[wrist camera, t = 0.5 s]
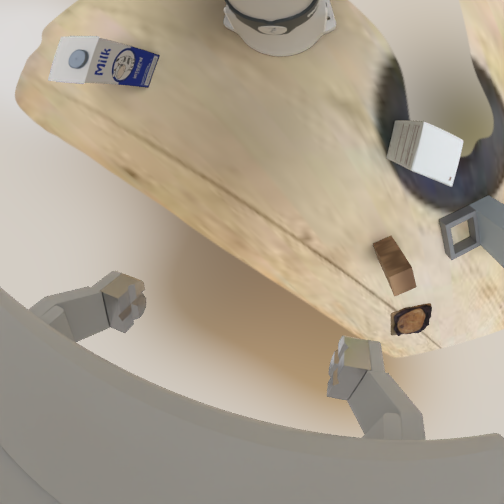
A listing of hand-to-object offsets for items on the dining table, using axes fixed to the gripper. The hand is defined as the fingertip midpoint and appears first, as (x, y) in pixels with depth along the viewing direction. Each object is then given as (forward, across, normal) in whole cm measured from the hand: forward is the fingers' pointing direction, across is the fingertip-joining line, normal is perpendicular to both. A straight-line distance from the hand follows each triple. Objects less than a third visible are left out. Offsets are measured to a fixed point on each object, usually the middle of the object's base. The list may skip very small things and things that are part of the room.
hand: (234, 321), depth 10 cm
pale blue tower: (+43, -35, +1) cm, 56 cm away
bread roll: (+44, -31, +26) cm, 60 cm away
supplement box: (+41, -17, -9) cm, 45 cm away
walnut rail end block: (+41, -18, +11) cm, 46 cm away
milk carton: (+36, +33, -17) cm, 52 cm away
